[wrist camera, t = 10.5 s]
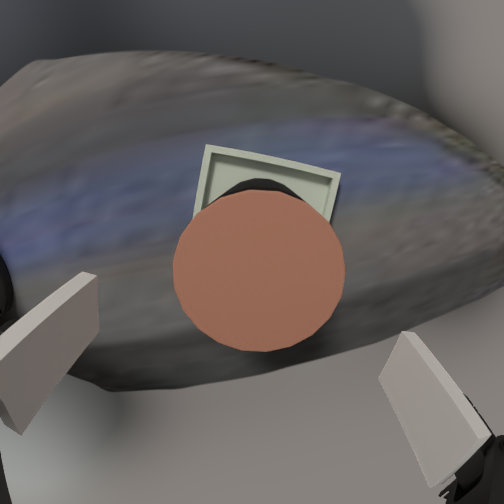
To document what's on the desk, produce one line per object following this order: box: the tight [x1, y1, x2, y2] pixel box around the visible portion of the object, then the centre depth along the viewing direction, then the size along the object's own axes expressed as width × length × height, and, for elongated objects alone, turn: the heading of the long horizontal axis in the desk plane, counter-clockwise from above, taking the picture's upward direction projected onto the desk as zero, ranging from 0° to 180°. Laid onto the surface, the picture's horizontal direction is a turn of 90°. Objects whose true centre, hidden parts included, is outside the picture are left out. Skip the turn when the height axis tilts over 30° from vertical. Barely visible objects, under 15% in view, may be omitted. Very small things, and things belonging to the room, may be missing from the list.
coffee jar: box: [173, 178, 346, 352], centre depth 26 cm, size 11×11×18 cm
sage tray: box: [193, 144, 341, 222], centre depth 34 cm, size 16×16×2 cm
